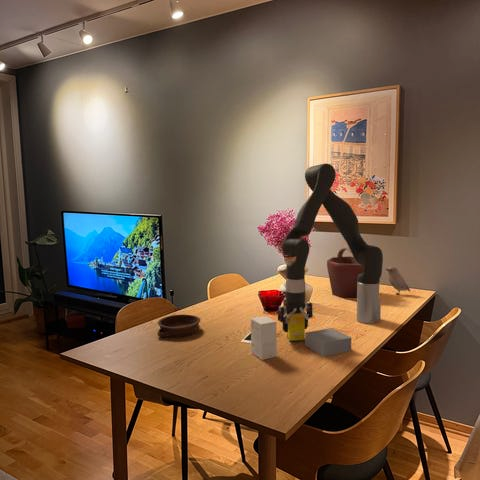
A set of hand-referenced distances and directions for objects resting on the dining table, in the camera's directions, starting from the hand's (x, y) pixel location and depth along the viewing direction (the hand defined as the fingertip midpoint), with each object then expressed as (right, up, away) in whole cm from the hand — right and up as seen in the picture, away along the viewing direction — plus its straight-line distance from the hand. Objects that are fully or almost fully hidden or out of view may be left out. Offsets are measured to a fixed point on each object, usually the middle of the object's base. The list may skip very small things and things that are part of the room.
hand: (295, 330), depth 178 cm
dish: (-47, -3, +12) cm, 48 cm away
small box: (-13, -6, -14) cm, 20 cm away
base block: (+11, -5, -9) cm, 15 cm away
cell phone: (-15, -4, +5) cm, 16 cm away
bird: (+62, +6, +63) cm, 89 cm away
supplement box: (0, -4, +1) cm, 4 cm away
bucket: (+36, +6, +65) cm, 74 cm away
